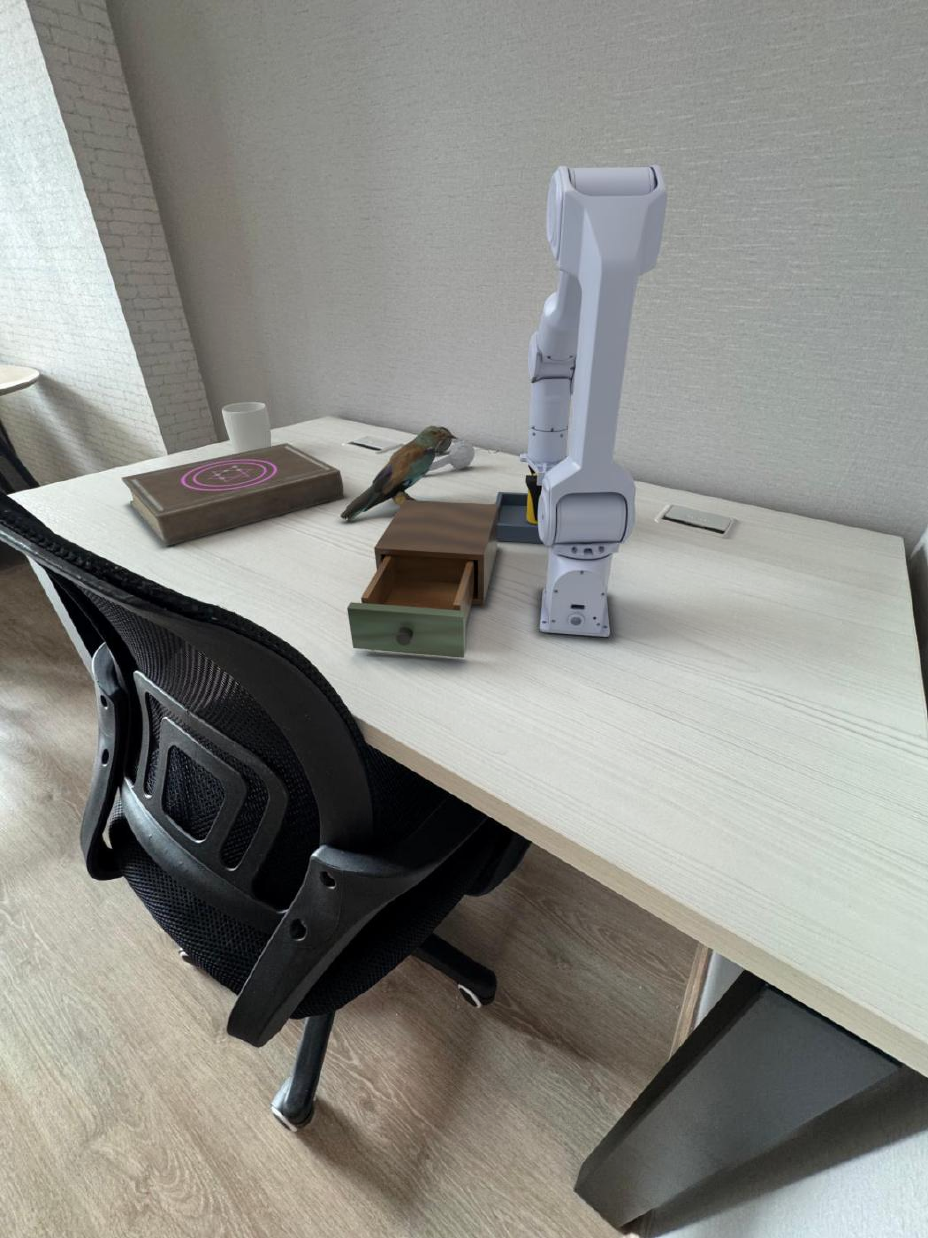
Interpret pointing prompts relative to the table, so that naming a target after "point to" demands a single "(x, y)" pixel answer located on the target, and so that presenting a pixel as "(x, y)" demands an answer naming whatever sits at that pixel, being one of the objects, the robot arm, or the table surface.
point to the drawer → (415, 606)
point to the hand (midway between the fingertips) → (542, 513)
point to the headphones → (453, 453)
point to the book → (231, 491)
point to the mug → (247, 426)
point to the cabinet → (445, 535)
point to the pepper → (530, 509)
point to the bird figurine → (400, 472)
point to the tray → (515, 519)
